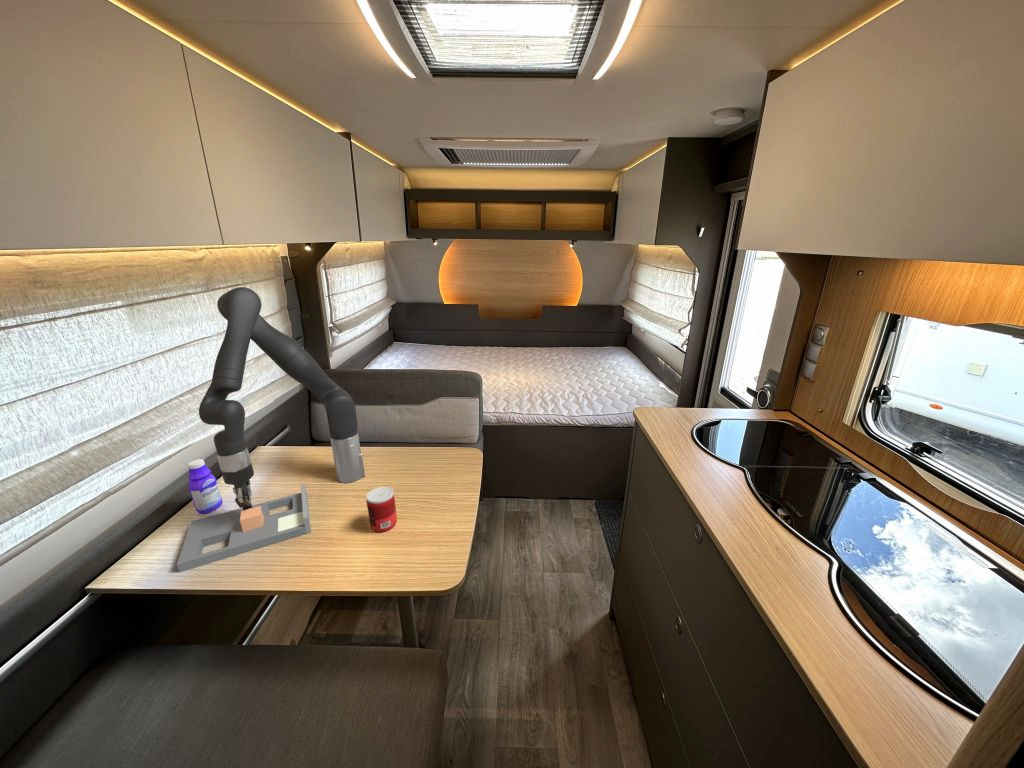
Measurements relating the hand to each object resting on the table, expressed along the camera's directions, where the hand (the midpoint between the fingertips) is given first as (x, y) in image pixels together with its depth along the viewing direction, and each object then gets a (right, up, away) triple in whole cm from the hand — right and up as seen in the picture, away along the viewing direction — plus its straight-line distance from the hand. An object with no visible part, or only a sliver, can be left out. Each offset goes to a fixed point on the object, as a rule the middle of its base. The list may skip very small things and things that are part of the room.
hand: (249, 514), depth 121 cm
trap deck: (+2, -4, -2) cm, 5 cm away
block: (+3, -2, -3) cm, 5 cm away
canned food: (+41, -3, 0) cm, 41 cm away
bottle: (-18, -1, +8) cm, 20 cm away
